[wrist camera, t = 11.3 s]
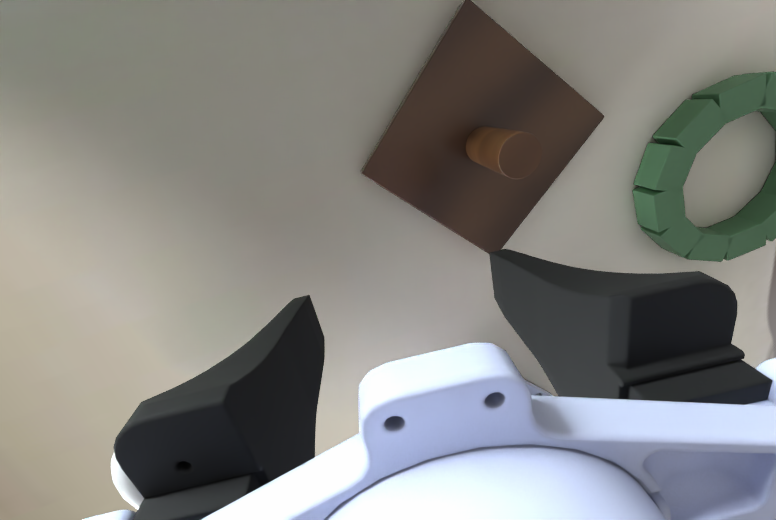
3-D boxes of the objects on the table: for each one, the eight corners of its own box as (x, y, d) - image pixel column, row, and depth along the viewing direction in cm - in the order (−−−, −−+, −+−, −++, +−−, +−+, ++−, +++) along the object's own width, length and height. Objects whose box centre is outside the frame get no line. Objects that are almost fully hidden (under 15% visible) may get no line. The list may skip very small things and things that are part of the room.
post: (594, 115, 21) (679, 118, 16) (489, 251, 24) (529, 294, 19) (461, 2, 18) (507, -43, 13) (360, 171, 21) (362, 193, 16)
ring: (781, 27, 20) (819, 20, 19) (822, 182, 24) (856, 188, 23) (603, 160, 22) (623, 164, 21) (668, 282, 26) (689, 294, 25)
